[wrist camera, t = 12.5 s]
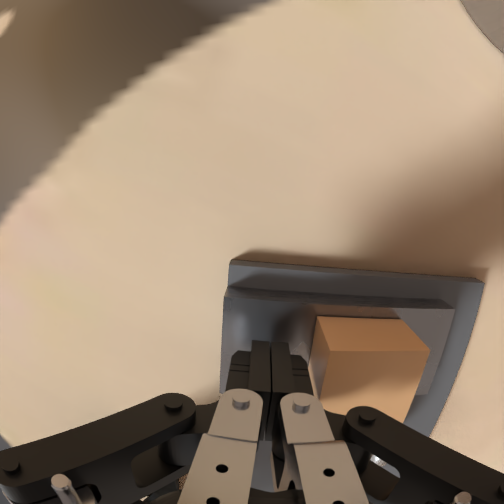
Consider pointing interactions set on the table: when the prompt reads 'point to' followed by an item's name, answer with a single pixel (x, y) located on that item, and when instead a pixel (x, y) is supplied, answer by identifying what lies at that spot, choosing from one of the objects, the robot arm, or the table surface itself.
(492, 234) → the table surface
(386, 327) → the tab
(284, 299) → the base
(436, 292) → the tray
